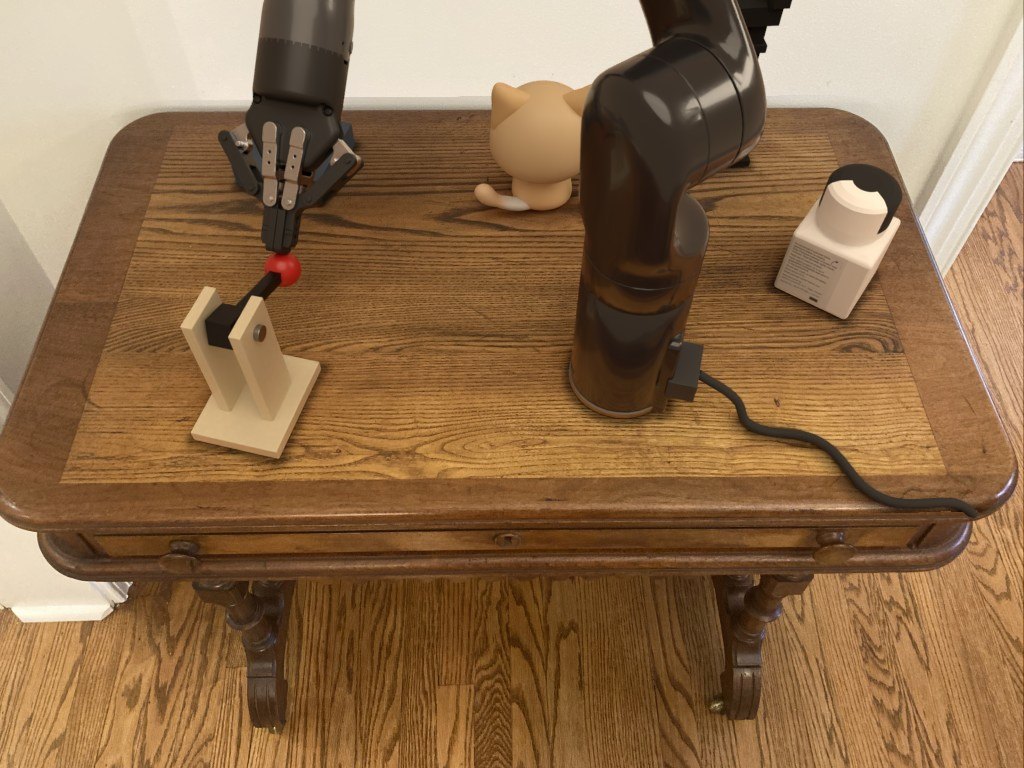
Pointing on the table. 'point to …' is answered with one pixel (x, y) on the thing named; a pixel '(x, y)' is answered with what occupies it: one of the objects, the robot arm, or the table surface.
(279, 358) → the lever stand
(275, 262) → the red knob lever
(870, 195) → the container
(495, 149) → the kitten
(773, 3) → the chess piece
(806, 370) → the table surface
